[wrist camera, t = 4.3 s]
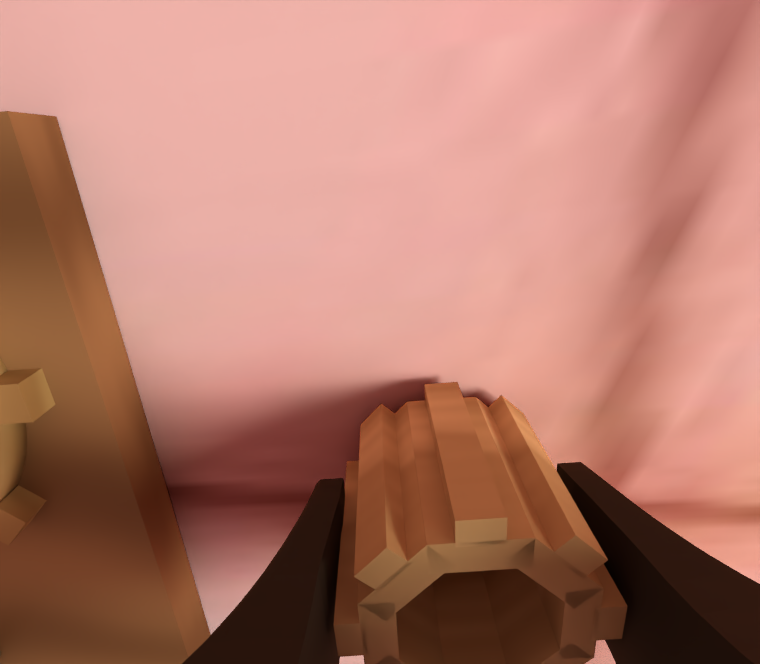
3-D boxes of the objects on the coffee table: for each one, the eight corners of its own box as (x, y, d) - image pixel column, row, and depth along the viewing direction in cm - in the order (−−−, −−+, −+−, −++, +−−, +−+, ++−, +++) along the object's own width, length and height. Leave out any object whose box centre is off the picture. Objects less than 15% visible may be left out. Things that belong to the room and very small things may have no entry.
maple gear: (533, 534, 15) (608, 713, 10) (356, 545, 15) (349, 729, 10) (543, 376, 13) (644, 508, 8) (338, 390, 13) (319, 530, 8)
